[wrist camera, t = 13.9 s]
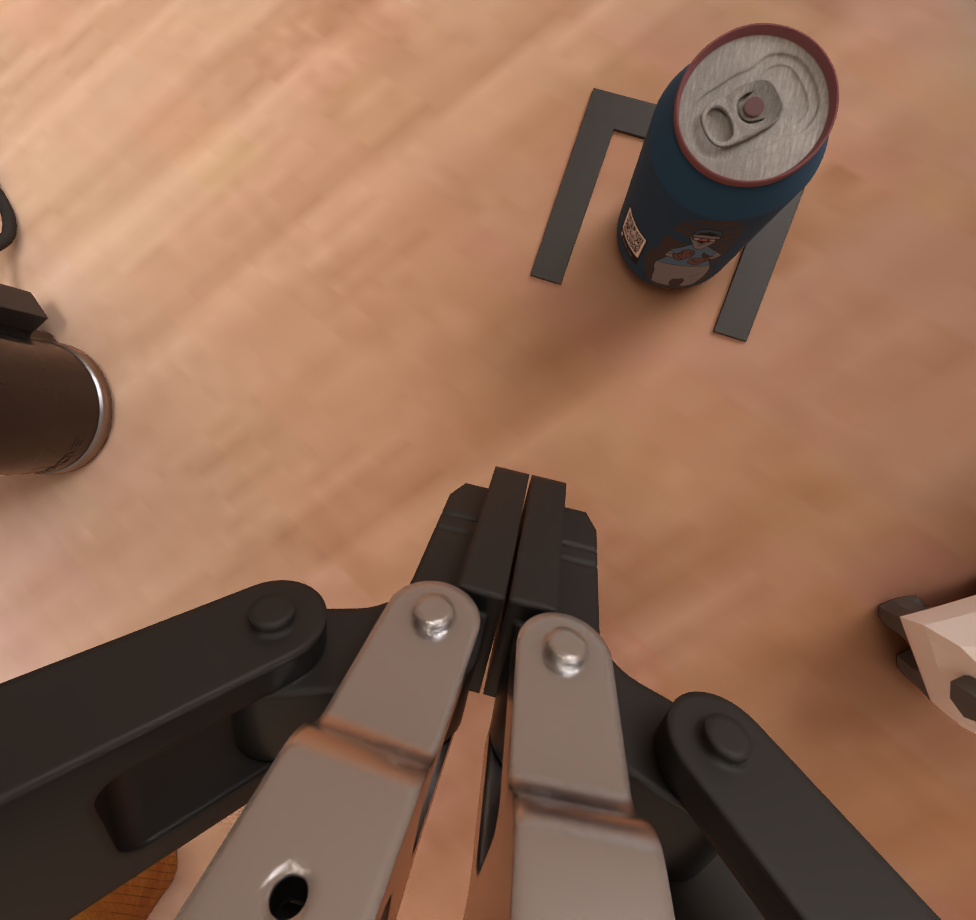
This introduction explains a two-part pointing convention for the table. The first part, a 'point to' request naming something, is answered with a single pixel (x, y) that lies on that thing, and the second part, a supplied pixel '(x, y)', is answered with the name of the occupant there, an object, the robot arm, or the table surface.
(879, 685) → the table surface
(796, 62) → the soda can
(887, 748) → the table surface
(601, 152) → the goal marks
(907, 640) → the giant panda
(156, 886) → the disposable coffee cup
